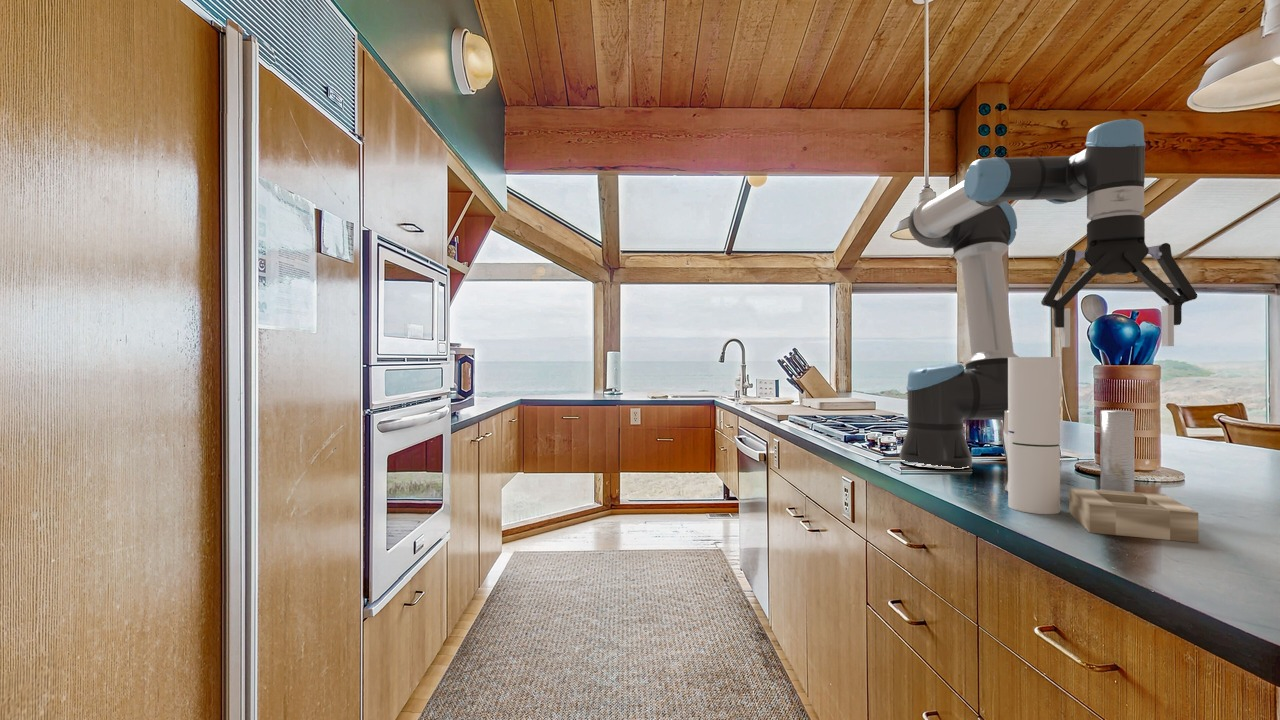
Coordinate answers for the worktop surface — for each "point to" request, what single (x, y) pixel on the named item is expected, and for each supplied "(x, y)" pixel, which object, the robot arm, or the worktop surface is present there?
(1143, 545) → the worktop surface
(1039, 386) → the cylindrical container
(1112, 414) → the peg
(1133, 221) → the robot arm
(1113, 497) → the socket block
